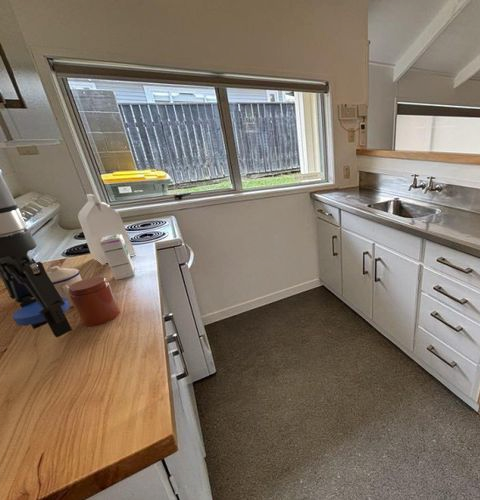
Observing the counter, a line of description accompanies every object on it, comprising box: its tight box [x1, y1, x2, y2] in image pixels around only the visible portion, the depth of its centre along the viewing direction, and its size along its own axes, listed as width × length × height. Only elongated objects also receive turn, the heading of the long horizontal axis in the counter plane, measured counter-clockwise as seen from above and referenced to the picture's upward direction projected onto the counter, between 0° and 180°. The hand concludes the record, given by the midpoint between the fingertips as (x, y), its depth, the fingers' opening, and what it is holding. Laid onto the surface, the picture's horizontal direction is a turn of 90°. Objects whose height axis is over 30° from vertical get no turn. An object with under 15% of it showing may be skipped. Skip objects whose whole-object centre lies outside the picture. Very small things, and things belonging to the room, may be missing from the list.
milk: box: [77, 193, 137, 265], centre depth 113 cm, size 12×12×26 cm
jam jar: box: [68, 276, 121, 327], centre depth 75 cm, size 8×8×10 cm
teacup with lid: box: [46, 265, 83, 308], centre depth 82 cm, size 12×9×12 cm
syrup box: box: [99, 234, 136, 281], centre depth 98 cm, size 6×6×14 cm
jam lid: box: [11, 297, 71, 327], centre depth 62 cm, size 8×8×2 cm
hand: (52, 329), depth 63 cm, fingers closed on jam lid, 8 cm apart
